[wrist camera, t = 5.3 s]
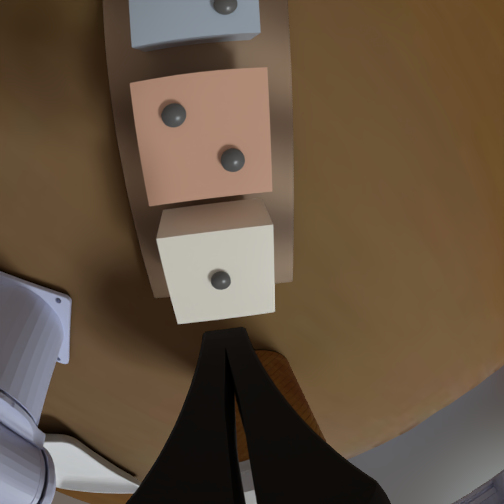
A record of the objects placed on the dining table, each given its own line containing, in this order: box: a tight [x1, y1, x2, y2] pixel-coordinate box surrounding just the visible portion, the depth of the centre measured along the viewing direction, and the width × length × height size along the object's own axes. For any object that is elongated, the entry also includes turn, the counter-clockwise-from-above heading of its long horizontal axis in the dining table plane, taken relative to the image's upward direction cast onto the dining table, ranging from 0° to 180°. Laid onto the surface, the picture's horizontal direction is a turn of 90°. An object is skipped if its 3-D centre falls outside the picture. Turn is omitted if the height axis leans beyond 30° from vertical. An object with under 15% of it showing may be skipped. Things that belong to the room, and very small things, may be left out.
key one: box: [156, 198, 275, 324], centre depth 16 cm, size 5×5×3 cm
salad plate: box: [43, 434, 142, 493], centre depth 34 cm, size 21×21×3 cm
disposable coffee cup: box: [234, 350, 326, 504], centre depth 22 cm, size 10×10×12 cm
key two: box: [130, 67, 272, 206], centre depth 13 cm, size 5×5×3 cm
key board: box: [103, 0, 294, 298], centre depth 14 cm, size 21×9×3 cm, turn 3°
